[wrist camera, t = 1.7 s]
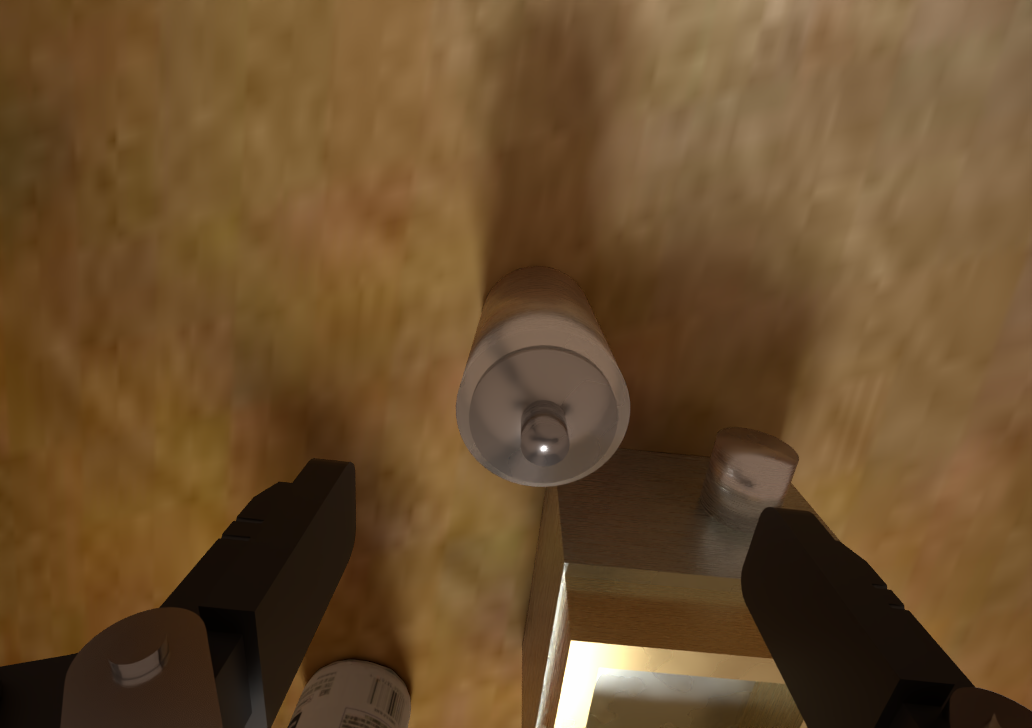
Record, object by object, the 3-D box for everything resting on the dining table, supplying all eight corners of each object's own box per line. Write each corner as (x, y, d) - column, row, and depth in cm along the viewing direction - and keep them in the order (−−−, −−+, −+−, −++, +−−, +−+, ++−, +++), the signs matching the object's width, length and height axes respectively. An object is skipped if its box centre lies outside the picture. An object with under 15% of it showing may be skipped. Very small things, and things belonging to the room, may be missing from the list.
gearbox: (560, 385, 23) (599, 621, 11) (793, 409, 24) (1076, 664, 12) (522, 649, 30) (520, 983, 17) (706, 665, 30) (831, 1006, 18)
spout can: (486, 260, 21) (452, 342, 11) (598, 272, 21) (662, 364, 11) (478, 365, 23) (442, 516, 13) (581, 375, 23) (624, 533, 13)
